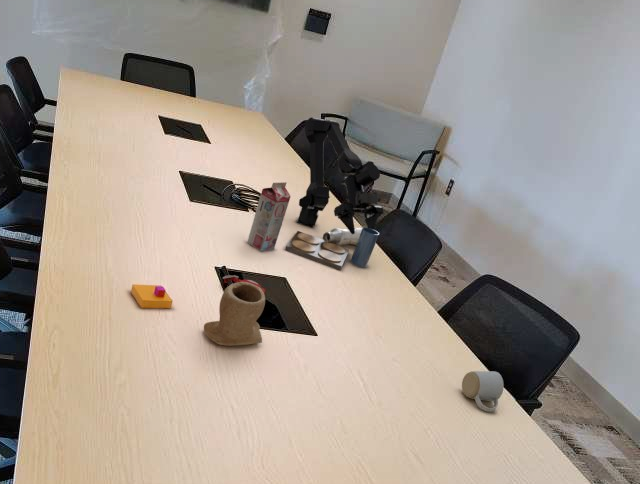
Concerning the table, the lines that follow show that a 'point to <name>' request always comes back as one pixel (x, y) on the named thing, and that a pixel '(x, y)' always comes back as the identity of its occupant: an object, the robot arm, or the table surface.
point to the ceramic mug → (483, 387)
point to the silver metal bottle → (342, 236)
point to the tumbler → (364, 247)
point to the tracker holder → (240, 281)
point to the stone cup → (238, 316)
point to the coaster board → (317, 250)
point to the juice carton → (269, 217)
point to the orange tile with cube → (151, 296)
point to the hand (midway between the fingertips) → (363, 234)
